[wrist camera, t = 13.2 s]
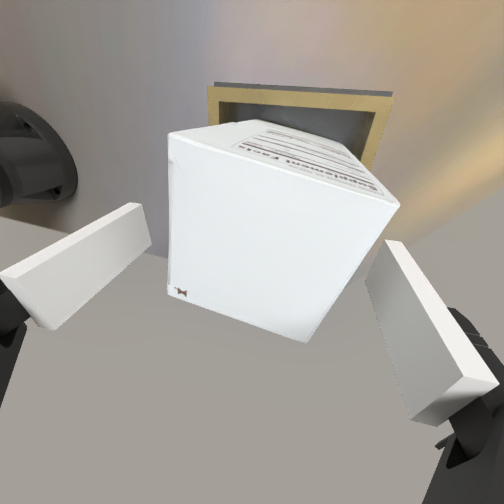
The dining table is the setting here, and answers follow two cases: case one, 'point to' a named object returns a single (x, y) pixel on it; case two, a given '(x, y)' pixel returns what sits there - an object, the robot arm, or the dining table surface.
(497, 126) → the dining table surface
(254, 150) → the supplement box
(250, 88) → the gray square bin
